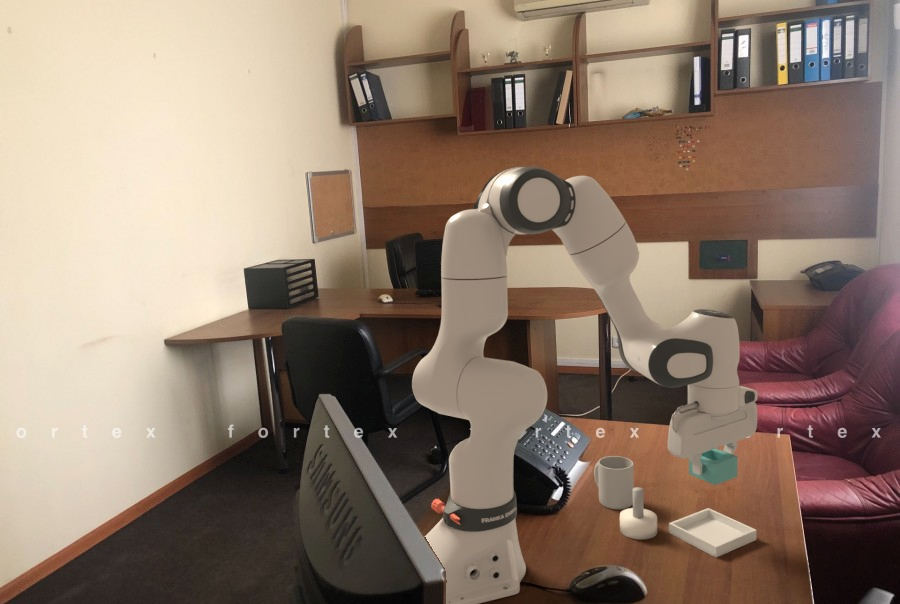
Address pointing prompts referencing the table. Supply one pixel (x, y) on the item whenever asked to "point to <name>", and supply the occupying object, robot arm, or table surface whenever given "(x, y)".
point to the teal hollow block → (717, 466)
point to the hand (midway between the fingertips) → (712, 468)
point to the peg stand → (638, 519)
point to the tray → (712, 532)
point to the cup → (615, 481)
